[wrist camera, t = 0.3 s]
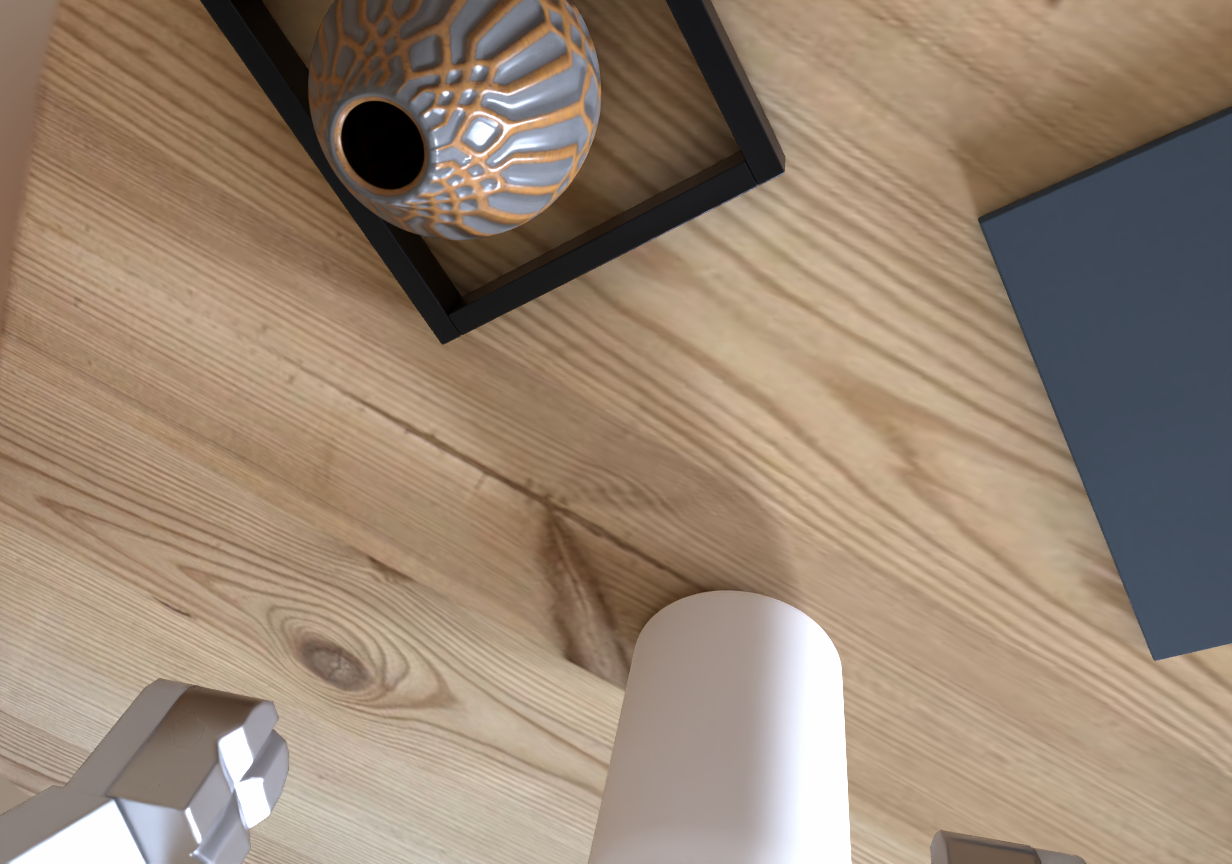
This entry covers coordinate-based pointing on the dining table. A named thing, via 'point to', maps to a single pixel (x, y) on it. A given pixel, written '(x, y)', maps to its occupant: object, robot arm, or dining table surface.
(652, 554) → the dining table surface
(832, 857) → the beverage can
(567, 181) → the vase
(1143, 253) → the mat
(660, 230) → the black open square frame
